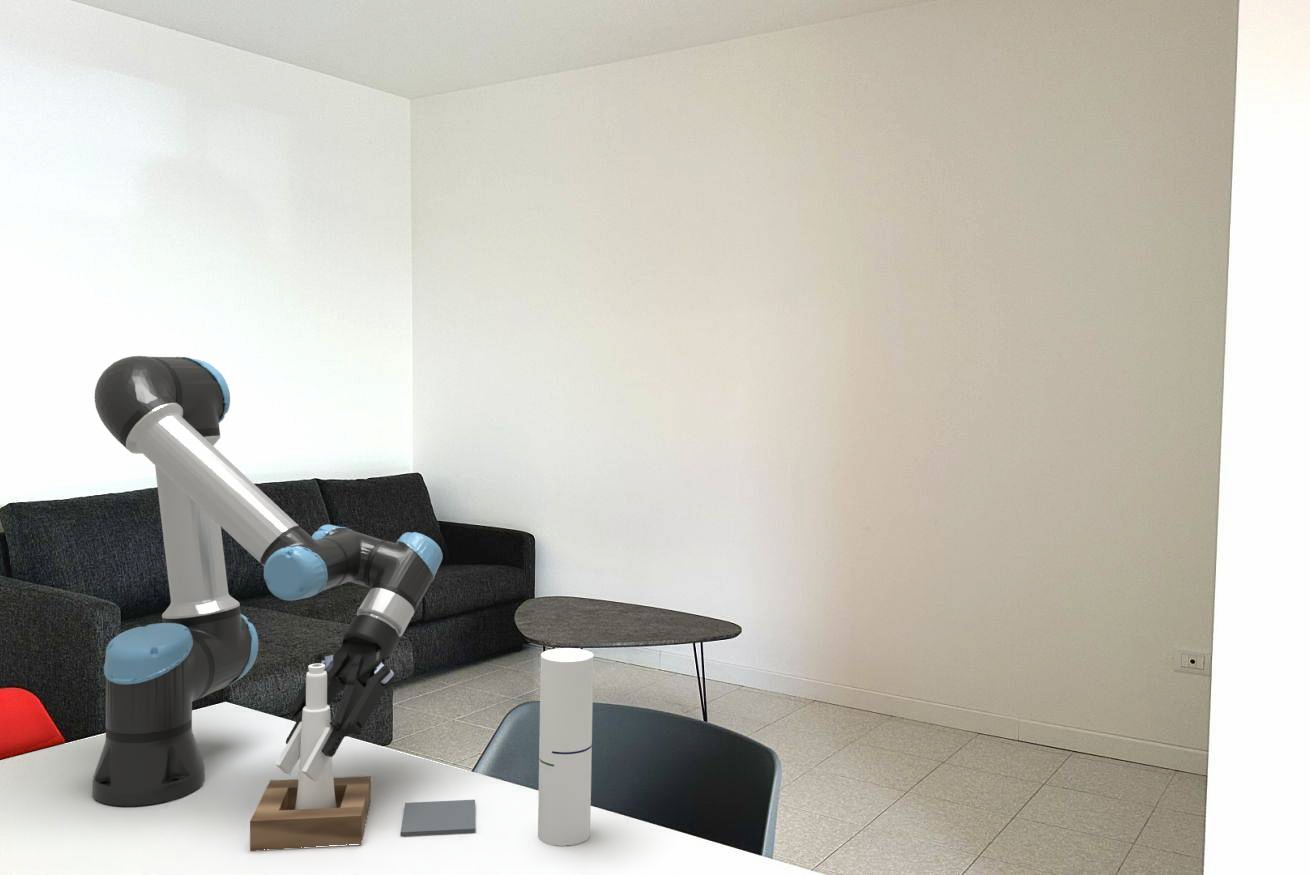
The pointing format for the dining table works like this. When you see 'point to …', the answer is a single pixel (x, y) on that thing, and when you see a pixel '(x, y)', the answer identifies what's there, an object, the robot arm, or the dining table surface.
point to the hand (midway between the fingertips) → (295, 772)
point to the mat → (438, 818)
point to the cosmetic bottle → (312, 728)
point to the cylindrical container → (565, 746)
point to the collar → (310, 816)
